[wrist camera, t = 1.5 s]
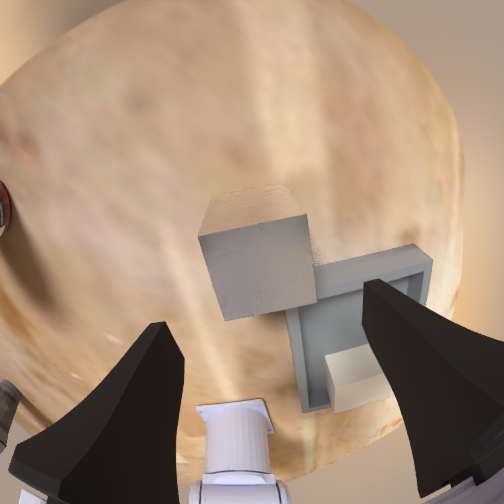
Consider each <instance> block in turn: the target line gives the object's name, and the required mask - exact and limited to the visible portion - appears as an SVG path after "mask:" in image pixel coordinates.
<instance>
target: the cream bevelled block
mask: <svg viewBox="0 0 504 504" xmlns="http://www.w3.org/2000/svg"><path fill="white" fill-rule="evenodd" d="M325 385H326V389H327V392H328V395H329V399H330V402H331V405H332V409H333V412H334V414H336V413H339V412H343V411H347V410H350V409H353V408H357V407H360V406H363V405H366V404H369V403H372V402H375V401H378V400H381V399H384V398H387V397H389V395H390V392H391V389H392V388H391V386H390V384H389V382H388V381H387V379H386V377H385V375H384V373H383V371H382V369H381V367H380V365H379V363H378V361H377V359H376V357H375V355H374V353H373V352H372V350H371V348H370V345H369V344H366V345H362V346H359V347H355V348H352V349H348V350H345V351H341V352H337V353H333V354H329V355H325Z"/></svg>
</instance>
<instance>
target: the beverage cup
mask: <svg viewBox="0 0 504 504" xmlns="http://www.w3.org/2000/svg"><path fill="white" fill-rule="evenodd" d="M20 397H21V393H20V392H19V390H18V389H17V388H16V387H15V386H14V385H13V384H11V383H10V382H9V381H7V380H3V381H2V382H1V383H0V453H1V452H3V450H4V449H5V447H6V444H7V439H8V433H9V429H10V426H11V423H12V420H13V417H14V415H15V412H16V409H17V406H18V404H19V400H20Z"/></svg>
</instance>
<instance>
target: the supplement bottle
mask: <svg viewBox="0 0 504 504" xmlns="http://www.w3.org/2000/svg"><path fill="white" fill-rule="evenodd" d="M10 212H11V211H10V202H9V198H8V194H7V192H6V190H5V188H4V186H3V184H2V183H1V182H0V236H1V235H3V234H4V233H5V232H6V230H7V228H8V226H9V222H10V215H11V214H10Z"/></svg>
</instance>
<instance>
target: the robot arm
mask: <svg viewBox="0 0 504 504" xmlns="http://www.w3.org/2000/svg"><path fill="white" fill-rule="evenodd" d="M362 327H363V329H364V332H365V335H366V338H367V340H368V343H369V345H370V348H371V350H372V352H373V353H374V355H375V357H376V359H377V361H378V363H379V365H380V367H381V369H382V371H383V373H384V375H385V377H386V379H387V381H388V382H389V384H390V386H391V388H392V390H393V393H394V395H395V397H396V400H397V402H398V405H399V408H400V411H401V414H402V417H403V420H404V423H405V427H406V430H407V434H408V437H409V441H410V446H411V450H412V454H413V459H414V465H415V471H416V477H417V486H418V492H419V495H420V498H423V497H426V496H427V495H430V494H431V493H433V492H435V491H437V490H439V489H441V488H443V487H445V486H446V485H448V484H450V485H451V489H450V490H448V491H446V492H444V493H442V494H441V495H439V496H437V497H435V498H433V499H431V500H429V501H427V502H425V503H423V504H504V342H502V341H499V340H496V339H493V338H490V337H487V336H485V335H482V334H479V333H477V332H474V331H471V330H469V329H467V328H465V327H463V326H461V325H458V324H456V323H454V322H452V321H450V320H448V319H446V318H444V317H443V316H441V315H439V314H437V313H435V312H433V311H432V310H430V309H428V308H427V307H425V306H423V305H421V304H420V303H418V302H417V301H415V300H413V299H412V298H410V297H408V296H407V295H405V294H404V293H402V292H401V291H399V290H397V289H396V288H394V287H393V286H391V285H389V284H388V283H386V282H384V281H383V280H381V279H379V278H377V279H374V280H370V281H366V282H363V308H362ZM184 363H185V358H184V356H183V354H182V353H181V351H180V349H179V347H178V345H177V343H176V341H175V340H174V338H173V336H172V334H171V332H170V330H169V328H168V326H167V324H166V322H165V321H164V322H156V323H151V324H150V325H149V326H148V327H147V328H146V329H145V330H144V331H143V333H142V334H141V335H140V336H139V337H138V339H137V340H136V341H135V342H134V344H133V345H132V346H131V347H130V349H129V350H128V351H127V352H126V353H125V355H124V356H123V357H122V358H121V360H120V361H119V362H118V363H117V364H116V366H115V367H114V368H113V369H112V370H111V371H110V372H109V374H108V375H107V376H106V377H105V378H104V379H103V381H102V382H101V383H100V384H99V385H98V386H97V387H96V388H95V389H94V390H93V391H92V392H91V393H90V394H89V395H88V396H87V397H86V398H85V399H84V400H83V401H82V402H81V403H79V404H78V405H77V406H76V407H75V408H73V409H72V410H71V411H70V412H68V413H67V414H66V415H65V416H64V417H62V418H61V419H60V420H58V421H57V422H55V423H54V424H53V425H51V426H50V427H48V428H47V429H45V430H43V431H42V432H40V433H38V434H37V435H35V436H33V437H31V438H30V439H27V440H25V441H23V442H21V443H19V444H17V446H16V448H15V451H14V454H13V457H12V460H11V463H10V466H9V469H8V470H9V473H11V474H12V475H13V476H15V477H16V478H18V479H20V480H21V481H23V482H24V483H26V484H28V485H29V486H31V487H33V488H35V489H36V490H38V491H40V492H42V493H43V494H45V495H47V496H48V499H47V501H46V500H44V499H42V498H40V497H39V496H37V495H35V494H33V493H31V492H30V491H28V490H26V489H24V488H23V489H22V491H21V496H20V500H19V504H180V503H179V495H178V486H177V472H176V435H177V426H178V419H179V412H180V406H181V399H182V393H183V386H184ZM196 411H197V412H198V414H199V415H200V416H201V418H202V419H203V421H204V422H205V423H206V425H207V431H206V452H205V474H203V476H202V480H196V481H195V482H194V483H193V484H192V485H191V488H190V495H189V504H291V498H290V493H289V490H288V487H287V486H286V485H285V484H284V483H283V482H282V481H281V480H276V479H275V474H271V466H270V456H269V447H268V437H267V435H270V434H273V433H274V429H273V426H272V424H271V421H270V418H269V415H268V412H267V410H266V407H265V404H264V401H263V400H262V399H254V400H247V401H240V402H232V403H223V404H213V405H201V406H196Z"/></svg>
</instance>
